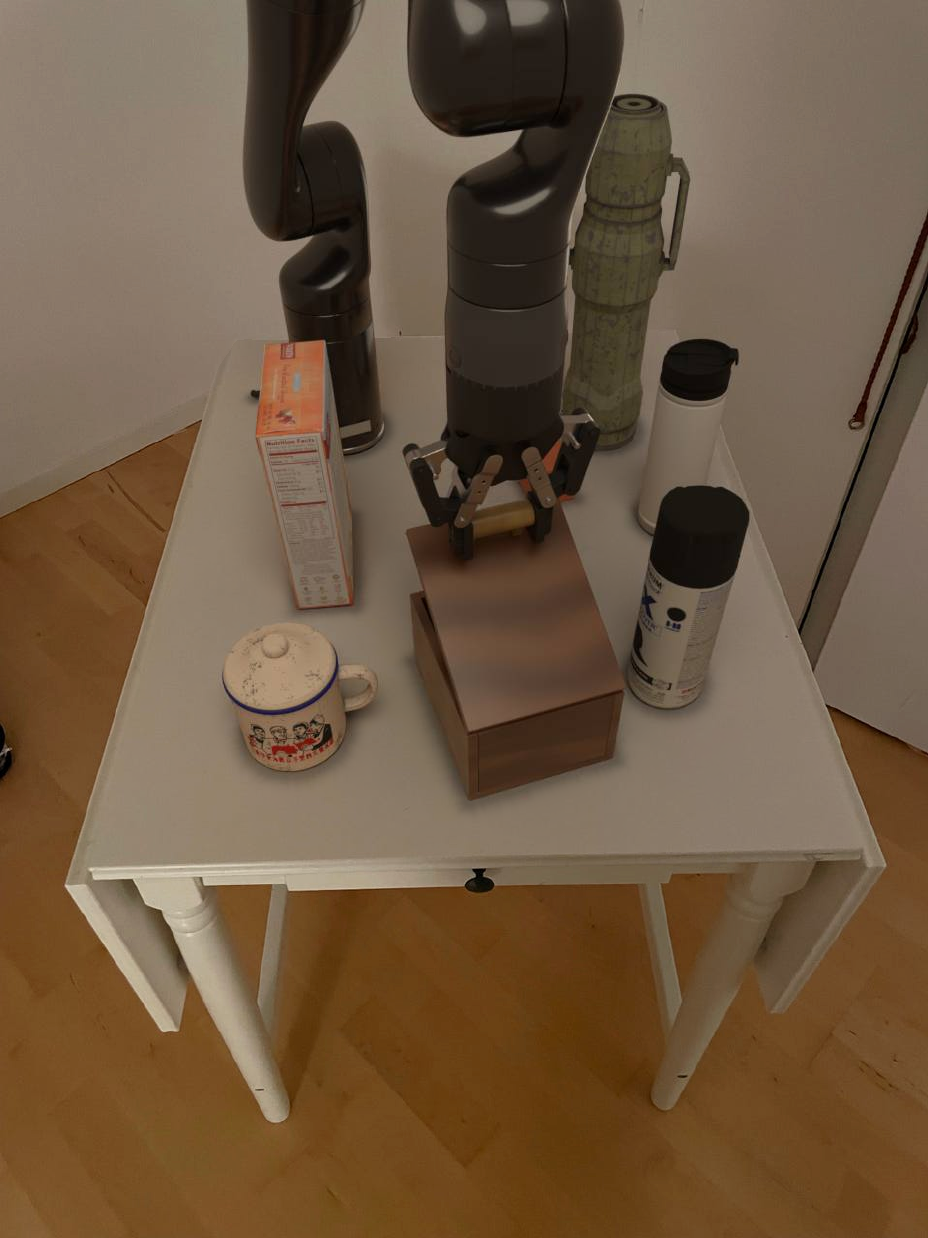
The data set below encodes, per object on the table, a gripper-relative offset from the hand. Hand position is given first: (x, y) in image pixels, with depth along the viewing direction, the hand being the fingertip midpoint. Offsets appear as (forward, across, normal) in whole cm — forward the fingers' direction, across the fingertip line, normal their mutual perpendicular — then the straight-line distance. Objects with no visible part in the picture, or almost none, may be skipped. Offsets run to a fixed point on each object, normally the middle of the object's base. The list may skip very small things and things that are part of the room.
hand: (499, 544), depth 70 cm
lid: (+4, 0, +3) cm, 5 cm away
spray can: (+17, -14, +5) cm, 23 cm away
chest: (+17, 0, +4) cm, 17 cm away
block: (+17, -14, -23) cm, 32 cm away
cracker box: (+17, +11, -20) cm, 29 cm away
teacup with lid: (+17, +17, 0) cm, 24 cm away
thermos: (+18, -24, -32) cm, 44 cm away
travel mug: (+17, -24, -14) cm, 33 cm away
